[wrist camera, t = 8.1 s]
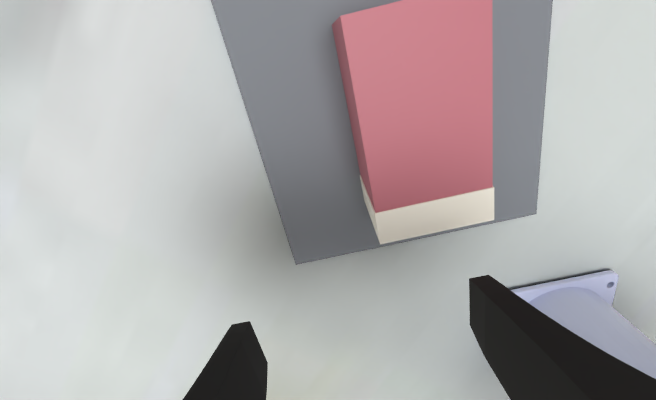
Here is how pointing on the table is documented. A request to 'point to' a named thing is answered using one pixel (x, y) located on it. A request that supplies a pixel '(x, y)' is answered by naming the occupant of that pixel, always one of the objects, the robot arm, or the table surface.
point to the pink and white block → (421, 112)
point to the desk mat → (334, 123)
